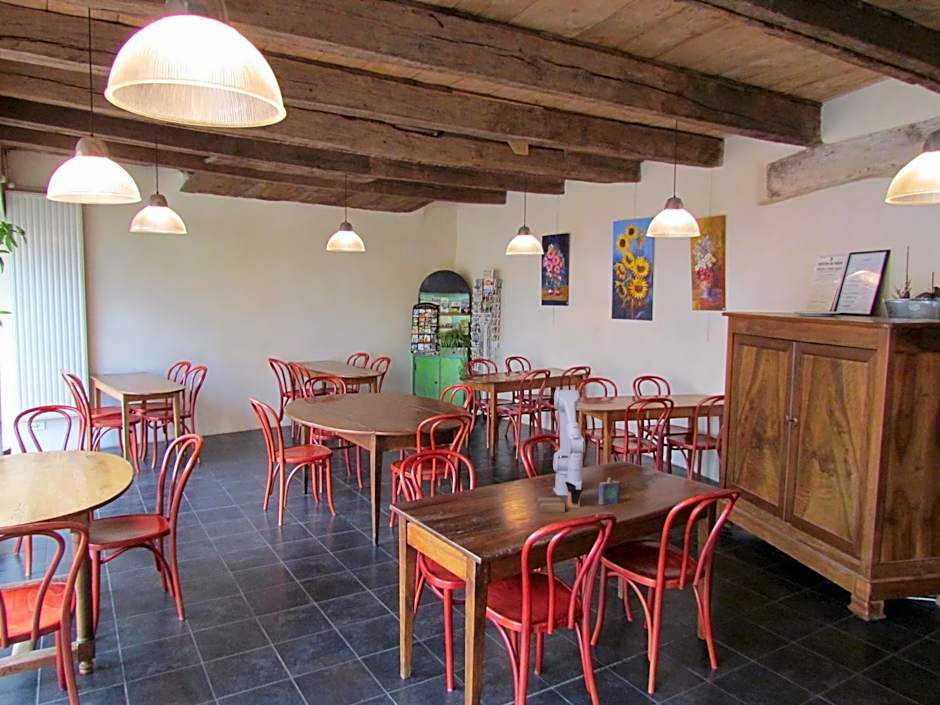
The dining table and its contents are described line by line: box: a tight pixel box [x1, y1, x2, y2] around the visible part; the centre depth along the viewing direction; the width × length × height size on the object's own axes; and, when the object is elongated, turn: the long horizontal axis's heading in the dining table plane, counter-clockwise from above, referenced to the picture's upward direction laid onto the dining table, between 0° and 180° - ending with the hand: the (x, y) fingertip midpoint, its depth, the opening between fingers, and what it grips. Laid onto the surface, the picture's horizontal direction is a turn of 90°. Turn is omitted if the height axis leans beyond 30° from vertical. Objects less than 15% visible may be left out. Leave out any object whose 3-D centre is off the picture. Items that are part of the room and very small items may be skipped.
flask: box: [597, 477, 621, 506], centre depth 261 cm, size 9×3×11 cm, turn 109°
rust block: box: [566, 492, 581, 508], centre depth 258 cm, size 4×4×5 cm
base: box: [537, 497, 566, 513], centre depth 253 cm, size 9×9×3 cm
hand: (573, 501), depth 258 cm, fingers open, 4 cm apart
